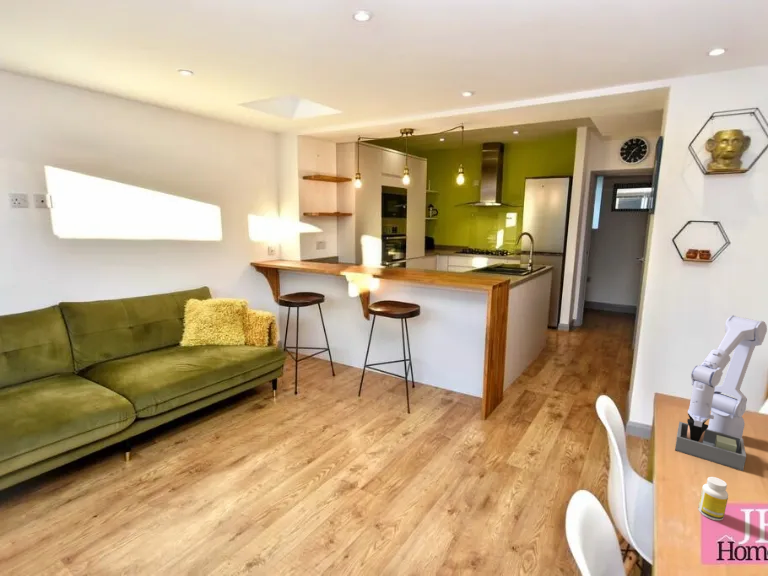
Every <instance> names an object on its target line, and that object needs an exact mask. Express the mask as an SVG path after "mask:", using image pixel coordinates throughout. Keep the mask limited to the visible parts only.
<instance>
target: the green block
mask: <svg viewBox="0 0 768 576" xmlns="http://www.w3.org/2000/svg"><path fill="white" fill-rule="evenodd" d="M714 447H717V448H721V449H724V450H728V451H731V452H735V453H736V448H737V445H736V440H734V439H730V438H726V437H723V436H719V435H716V440H715V446H714Z"/></svg>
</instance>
